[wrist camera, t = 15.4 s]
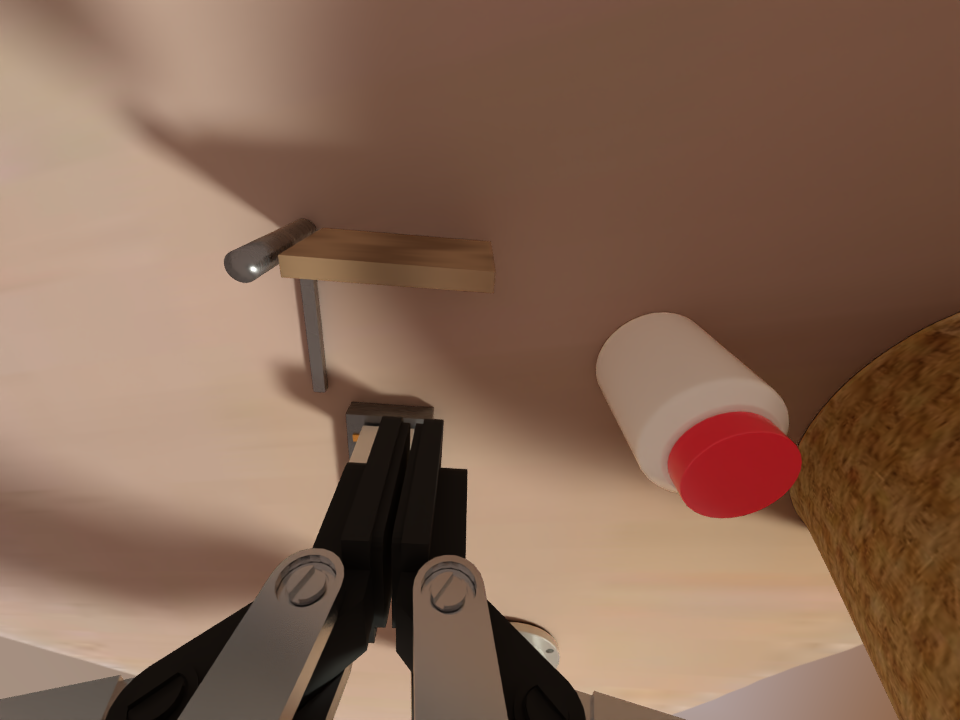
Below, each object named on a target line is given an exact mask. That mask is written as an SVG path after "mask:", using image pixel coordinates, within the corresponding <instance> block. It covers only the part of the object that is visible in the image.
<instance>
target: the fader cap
mask: <svg viewBox="0 0 960 720" xmlns="http://www.w3.org/2000/svg"><path fill="white" fill-rule="evenodd" d="M378 428H379V426H364V425H363V427H362V429H361V432H360V435H359V437H358V440H357V442H356V445H355V448H354V450H353V453H352V455H351V458H350V461H349V462H356V463H367V460H368V457H369V454H370V451H371V448H372V445H373V442H374V439H375V436H376V434H377V431H378ZM413 435H414V429H410V449H411V444H412V440H413Z"/></svg>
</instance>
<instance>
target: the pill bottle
mask: <svg viewBox="0 0 960 720" xmlns="http://www.w3.org/2000/svg"><path fill="white" fill-rule="evenodd" d="M596 377H597V382H598V384H599V387H600V389H601V391H602V393H603V395H604V397H605V399H606V401H607V403H608V405H609V407H610V409H611V411H612V413H613V415H614V417H615V419H616V421H617V423H618V425H619V427H620V429H621V431H622V433H623V435H624V437H625V439H626V441H627V443H628V445H629V447H630V449H631V451H632V453H633V455H634V457H635V459H636V461H637V463H638V465H639V467H640V469H641V470H642V472H643V473H644V474H645V476H646V477H647V478H648V479H649V480H650V481H652V482H653V483H654V484H655V485H657V486H659V487H661V488H663V489H665V490H667V491H671V492H675V493H679V494H680V496H681V498H682V500H683V501H684V502H685V504H686V505H687V506H688V507H689V508H690V509H692V510H693V511H694V512H696V513H699V514H701V515H704V516H708V517H712V518H733V517H739V516H744V515H747V514H750V513H754V512H756V511H758V510H761V509H763V508H765V507H767V506H769V505H770V504H772V503H774V502H775V501H777V500H778V499H779V498H781V497H782V496H783V495H784V494H785V493H786V492H787V491H788V490H789V489H790V488H791V487H792V486H793V484H794V483H795V481H796V480H797V478H798V476H799V473H800V471H801V465H802V459H801V453H800V451H799V449H798V447H797V445H796V444H795V443H794V442H793V441H792V440H791V439H790V438H788V437H787V434H788V428H789V415H788V409H787V407H786V405H785V403H784V401H783V399H782V398H781V397H780V395H779V394H778V393H777V392H776V391H775V390H774V389H773V388H772V387H771V386H769V385H768V384H767V383H766V382H765V381H764V380H762V379H761V378H760V377H759V376H758V375H756V374H755V373H754V372H753V371H752V370H751V369H749V368H748V367H747V366H746V365H745V364H743V363H742V362H741V361H740V360H739V359H738V358H736V357H735V356H734V355H733V354H732V353H730V352H729V351H728V350H727V349H726V348H725V347H723V346H722V345H721V344H720V343H719V342H717V341H716V340H715V339H714V338H713V337H712V336H710V335H709V334H708V333H707V332H706V331H704V330H703V329H702V328H701V327H700V326H698V325H697V324H696V323H695V322H693V321H692V320H690V319H689V318H687V317H685V316H682V315H679V314H676V313H668V312H660V313H651V314H647V315H643V316H640V317H637V318H635V319H633V320H630V321H629V322H627V323H626V324H624V325H623V326H621V327H620V328H618V329H617V330H616V331H615V332H614V333H613V334H612V335H611V336H610V337H609V338H608V340H607V341H606V342H605V343H604V345H603V347H602V349H601V351H600V353H599V356H598V359H597V362H596Z"/></svg>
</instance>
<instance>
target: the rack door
mask: <svg viewBox="0 0 960 720" xmlns="http://www.w3.org/2000/svg"><path fill="white" fill-rule="evenodd" d="M278 259H279V266H280V272H281V277H284V278H298V279H311V280H324V281H337V282H351V283H364V284H377V285H390V286H403V287H417V288H430V289H443V290H456V291H470V292H483V293H494V283H495V273H496V271H495V265H494V258H493V252H492V246H491V242H490V241H478V240H465V239H453V238H441V237H429V236H417V235H404V234H392V233H380V232H368V231H356V230H344V229H331V228H322V229H320V230H318V231H317V232H315V233H313V234H312V235H310V236H308V237H307V238H305V239H303V240H302V241H300V242H298V243H297V244H295V245H293V246H292V247H290V248H288V249H287V250H285V251H283V252H282V253H280V254H278Z"/></svg>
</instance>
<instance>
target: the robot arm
mask: <svg viewBox="0 0 960 720" xmlns="http://www.w3.org/2000/svg"><path fill="white" fill-rule="evenodd" d="M443 424H444V420H439V419H424V422H423V424H420V423H416V425H415V430H414V435H413V440H412V444H411V449H410V429H411V426H410V423H405V422H404V419H403V417H394V416H383V417H382V419H381V422H380V425H379V428H378V431H377V434H376V436H375V439H374V442H373V445H372V448H371V451H370V454H369V457H368V460H367V463H356V462H348V463H347V465H346V467H345V469H344V471H343V473H342V476H341V478H340V481H339V483H338V486H337V488H336V491H335V493H334V496H333V498H332V501H331V503H330V506H329V508H328V511H327V513H326V516H325V518H324V521H323V523H322V526H321V528H320V531H319V533H318V535H317V538H316V540H315V543H314V545H313V548H311V549H307V550H302V551H299V552H297V553H295V554H293V555H291V556H289V557H288V558H286V559H285V560H284V561H283V562H281V563H280V564H279V565H278V566H277V568H276V569H275V570H274V571H273V572H272V574H271V575H270V577H269V578H268V580H267V581H266V583H265V585H264V586H263V588H262V589H261V591H260V592H259V594H258V595H257V597H256V598H255V600H254V601H253V602H252V603H250V604H248V605H247V606H245V607H244V608H242V609H240V610H239V611H237V612H236V613H234V614H232V615H231V616H229V617H228V618H226V619H224V620H223V621H221V622H220V623H218V624H216V625H215V626H213V627H212V628H210V629H208V630H207V631H205V632H204V633H202V634H200V635H199V636H197V637H196V638H194V639H193V640H191V641H189V642H188V643H186V644H185V645H183V646H181V647H180V648H178V649H177V650H175V651H173V652H172V653H170V654H169V655H167V656H165V657H164V658H162V659H161V660H159V661H157V662H156V663H154V664H153V665H151V666H149V667H148V668H147V669H145V670H144V671H143V672H141V673H140V674H139V675H138V676H136V677H135V678H131V679H126V680H123V678H122V677H121V675H118V676H113V677H108V678H103V679H98V680H93V681H88V682H83V683H78V684H74V685H69V686H64V687H59V688H54V689H49V690H44V691H39V692H34V693H29V694H25V695H20V696H14V697H9V698H5V699H0V720H333V718H334V715H335V713H336V710H337V707H338V705H339V702H340V699H341V697H342V694H343V691H344V689H345V686H346V683H347V680H348V678H349V675H350V672H351V667H352V663H353V661H355V660H356V659H357V658H358V657H359V656H361V655H362V654H363V653H364V652H365V651H366V650H367V647H368V643H374V641H375V636H376V631H377V627H383V628H385V627H386V623H387V618H388V613H389V608H390V602H391V597H392V628H396V652H397V653H398V654H399V656H400V657H401V658H402V660H403V661H404V663H405V664H406V665H407V667H408V668H409V669H410V671H411V720H685V719H682V718H679V717H676V716H673V715H669V714H666V713H663V712H660V711H657V710H653V709H650V708H647V707H644V706H641V705H637V704H634V703H631V702H628V701H625V700H621V699H618V698H615V697H612V696H609V695H605V694H602V693H599V692H596V691H594V692H593V694H592V695H589V694H586V693H583V692H580V691H576V690H574V688H573V687H572V686H571V684H570V683H569V682H568V681H567V680H566V679H565V678H564V677H563V676H562V675H561V674H560V673H559V672H558V671H557V670H556V668H557V666H558V665H559V660H560V656H559V649H558V645H557V643H556V641H555V640H554V638H553V637H552V636H551V635H549V634H548V633H547V632H545V631H544V630H542V629H540V628H538V627H535V626H532V625H529V624H524V623H519V622H509V621H508V620H507V619H506V618H505V617H504V616H503V615H502V614H501V613H500V612H499V611H498V610H497V609H496V608H495V607H494V606H493V605H492V604H491V603H490V602H489V601H488V600H487V598H486V592H485V586H484V582H483V579H482V576H481V573H480V572H479V571H478V569H477V568H476V567H475V565H474V564H472V563H471V562H470V561H468V560H467V559H465V556H466V513H467V469H453V468H441V457H442V441H443Z"/></svg>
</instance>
